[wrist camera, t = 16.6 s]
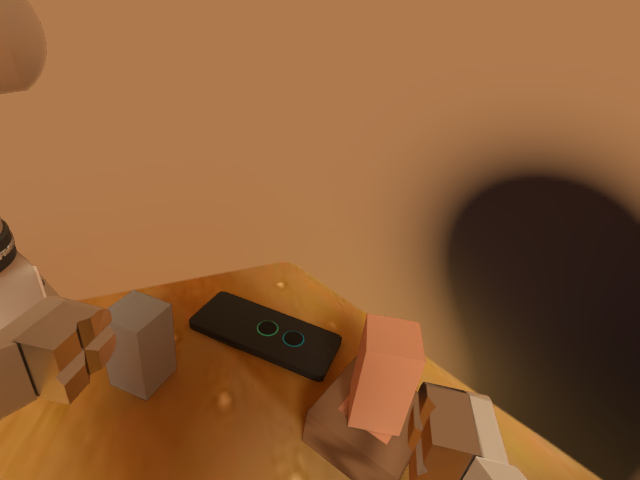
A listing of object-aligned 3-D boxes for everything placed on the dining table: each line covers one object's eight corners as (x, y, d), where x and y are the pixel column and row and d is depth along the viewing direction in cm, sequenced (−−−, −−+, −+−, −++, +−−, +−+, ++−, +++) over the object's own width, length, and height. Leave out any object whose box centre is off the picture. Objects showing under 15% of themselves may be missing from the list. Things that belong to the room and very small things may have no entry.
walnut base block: (301, 442, 39) (307, 411, 37) (350, 383, 47) (357, 354, 44) (385, 508, 35) (398, 478, 32) (424, 432, 42) (436, 402, 40)
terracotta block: (347, 426, 36) (366, 350, 31) (350, 384, 40) (367, 313, 35) (399, 436, 36) (425, 361, 31) (396, 393, 40) (419, 322, 35)
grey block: (110, 384, 42) (95, 316, 37) (143, 354, 46) (133, 289, 41) (146, 401, 41) (136, 333, 36) (176, 368, 45) (171, 304, 40)
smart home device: (322, 377, 45) (186, 321, 50) (320, 387, 46) (186, 330, 51) (343, 334, 52) (222, 288, 57) (341, 343, 53) (222, 297, 58)
